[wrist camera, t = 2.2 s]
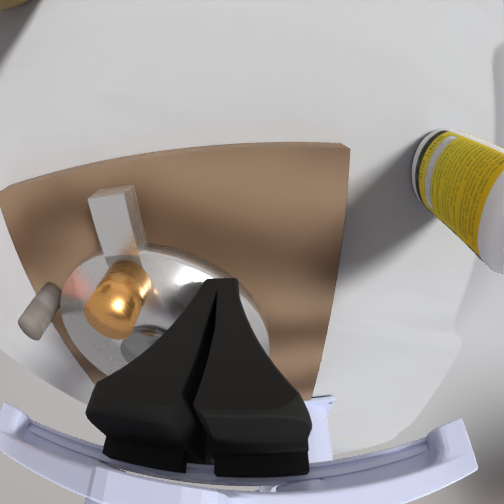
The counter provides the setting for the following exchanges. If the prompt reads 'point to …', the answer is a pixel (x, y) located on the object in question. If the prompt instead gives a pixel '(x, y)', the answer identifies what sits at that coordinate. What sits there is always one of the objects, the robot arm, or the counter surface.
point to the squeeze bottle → (11, 3)
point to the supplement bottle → (464, 189)
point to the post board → (203, 232)
